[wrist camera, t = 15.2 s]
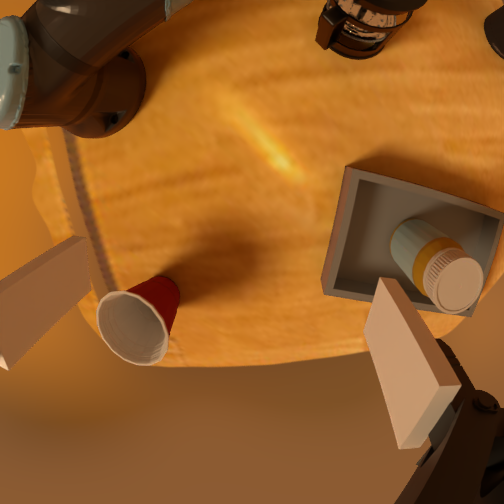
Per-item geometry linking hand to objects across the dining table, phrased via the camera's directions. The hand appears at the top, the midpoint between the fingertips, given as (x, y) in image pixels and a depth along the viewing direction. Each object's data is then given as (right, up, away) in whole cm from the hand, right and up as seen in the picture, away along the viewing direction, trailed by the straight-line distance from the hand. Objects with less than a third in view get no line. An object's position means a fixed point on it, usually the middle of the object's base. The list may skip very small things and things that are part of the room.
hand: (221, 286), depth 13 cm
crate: (+24, +3, +28) cm, 37 cm away
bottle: (+23, +3, +27) cm, 36 cm away
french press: (+14, +31, +20) cm, 39 cm away
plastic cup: (-13, -5, +35) cm, 38 cm away
